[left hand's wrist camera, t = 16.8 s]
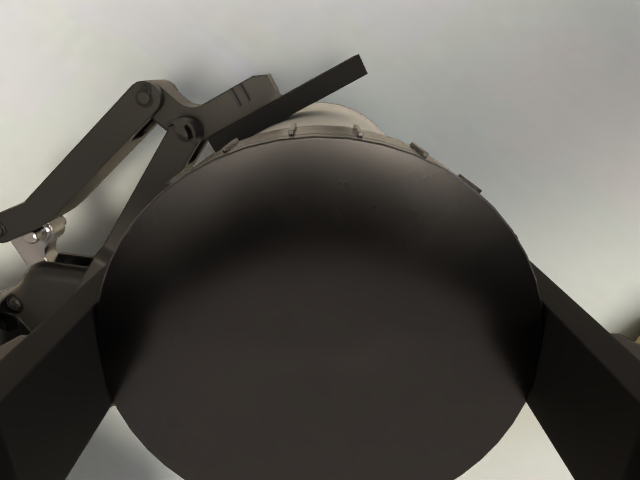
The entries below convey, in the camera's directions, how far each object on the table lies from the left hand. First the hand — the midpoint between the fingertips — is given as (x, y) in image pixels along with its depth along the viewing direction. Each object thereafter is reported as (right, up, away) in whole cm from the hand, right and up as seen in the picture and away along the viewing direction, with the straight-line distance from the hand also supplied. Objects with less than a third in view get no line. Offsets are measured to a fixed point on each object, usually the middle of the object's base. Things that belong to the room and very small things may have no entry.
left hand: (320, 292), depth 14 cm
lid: (0, -1, -3) cm, 3 cm away
